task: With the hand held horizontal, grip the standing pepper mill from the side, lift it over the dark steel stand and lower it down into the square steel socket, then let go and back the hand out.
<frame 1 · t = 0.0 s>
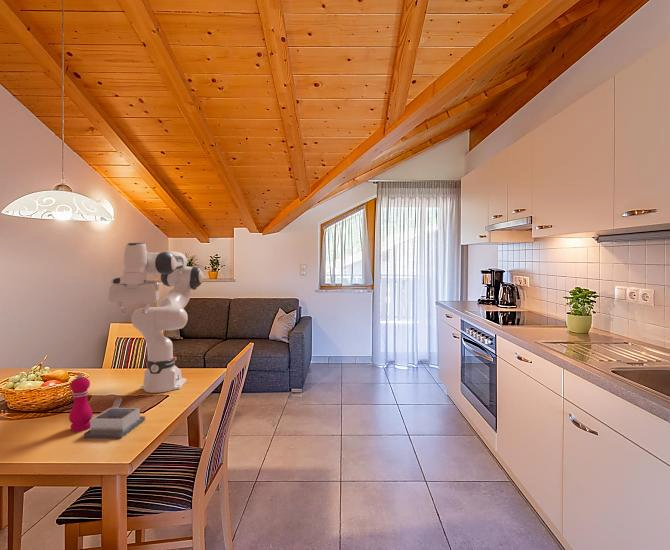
hand: (133, 313, 170), 39 cm above the table, tool pointing down, fingers open, 8 cm apart
adjustable wrench: (117, 410, 165), on the table, touching socket stand
pepper mill: (81, 428, 147), on the table
socket stand: (116, 428, 147), on the table
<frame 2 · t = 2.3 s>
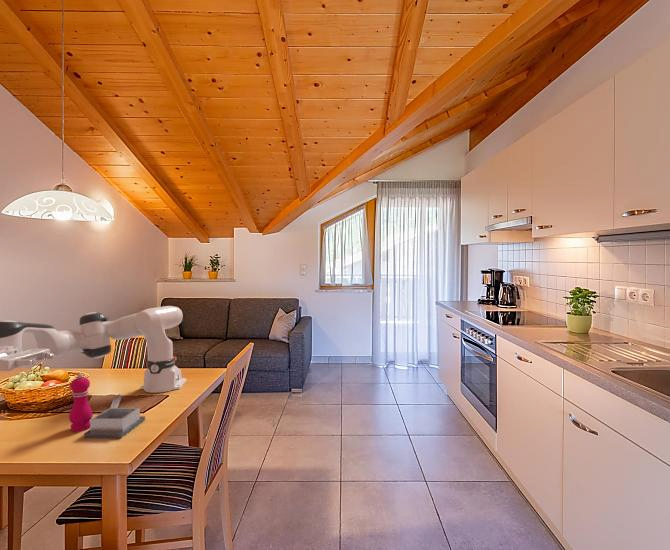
hand: (42, 359, 147), 25 cm above the table, tool horizontal, fingers open, 8 cm apart
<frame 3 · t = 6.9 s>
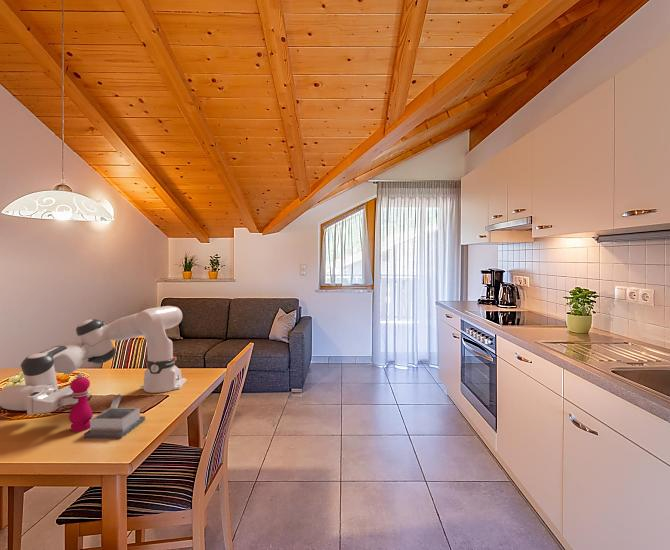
hand: (82, 398, 147), 11 cm above the table, tool horizontal, fingers closed on pepper mill, 5 cm apart
pepper mill: (81, 428, 147), on the table, touching gripper
everything else where it was.
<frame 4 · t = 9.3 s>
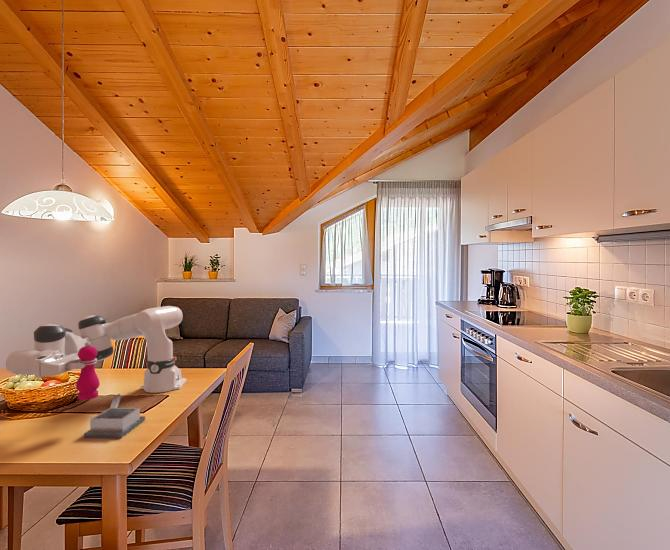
hand: (90, 363, 146), 24 cm above the table, tool horizontal, fingers closed on pepper mill, 5 cm apart
pepper mill: (88, 397, 146), point 11 cm above the table, touching gripper
everything else where it was.
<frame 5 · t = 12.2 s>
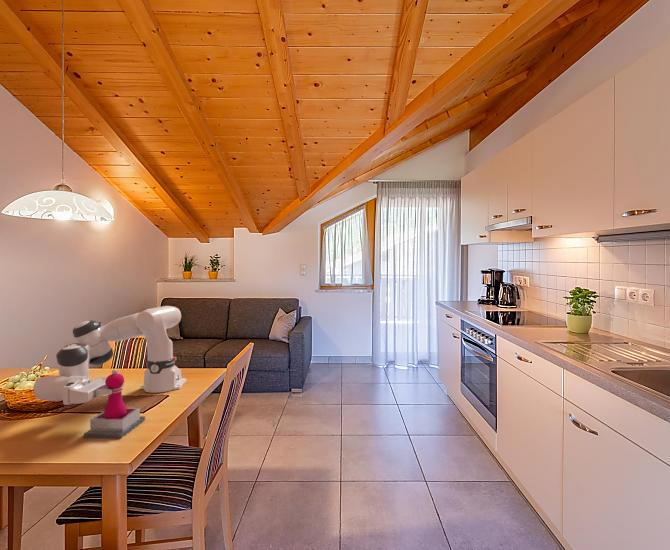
hand: (117, 388, 146), 15 cm above the table, tool horizontal, fingers closed on pepper mill, 5 cm apart
pepper mill: (115, 425, 146), point 1 cm above the table, touching gripper, socket stand
when the fingers open (14 cm above the table, at t = 12.9 s): pepper mill stays where it is, resting on socket stand.
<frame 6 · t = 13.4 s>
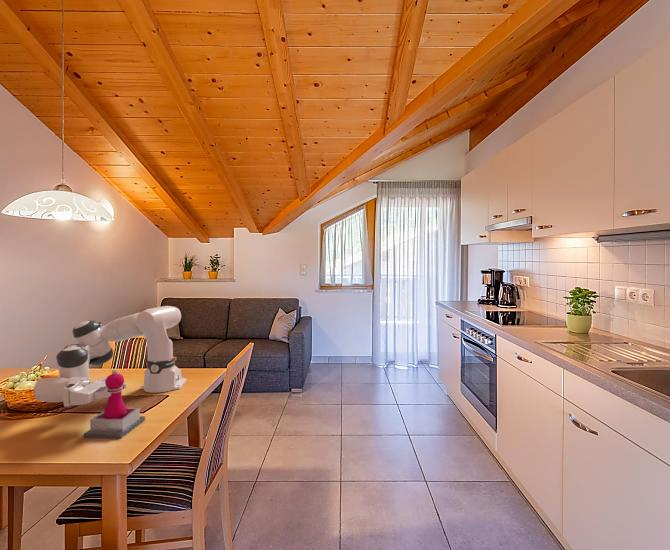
hand: (117, 390, 146), 14 cm above the table, tool horizontal, fingers open, 8 cm apart
pepper mill: (115, 425, 146), point 1 cm above the table, touching socket stand
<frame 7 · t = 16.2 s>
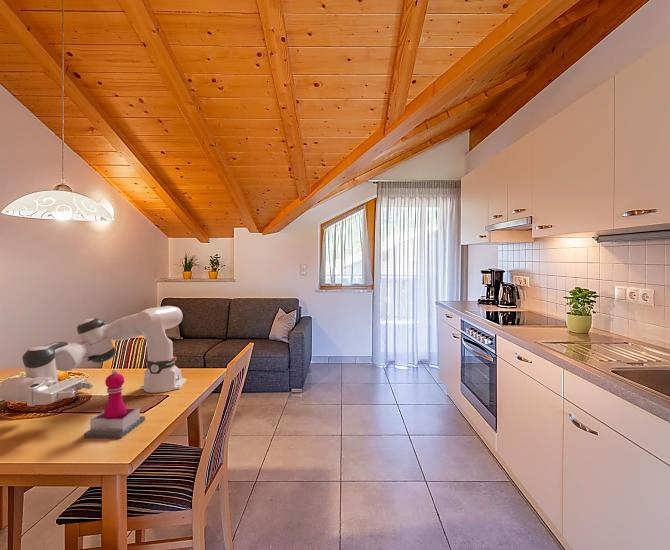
hand: (83, 390, 147), 14 cm above the table, tool horizontal, fingers open, 8 cm apart
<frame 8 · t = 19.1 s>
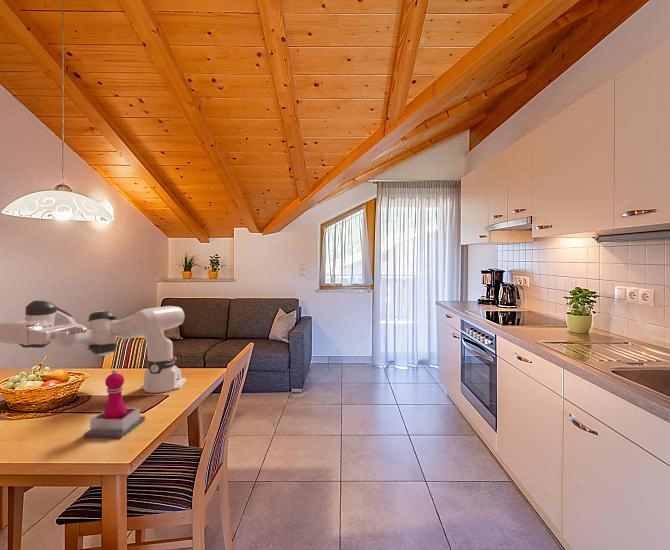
hand: (77, 332, 151), 34 cm above the table, tool horizontal, fingers open, 8 cm apart
at the end: pepper mill 0.1 cm off-centre on the socket stand, point 1.3 cm above the socket stand's base; pepper mill tilted 0°; the gripper is holding nothing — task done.
